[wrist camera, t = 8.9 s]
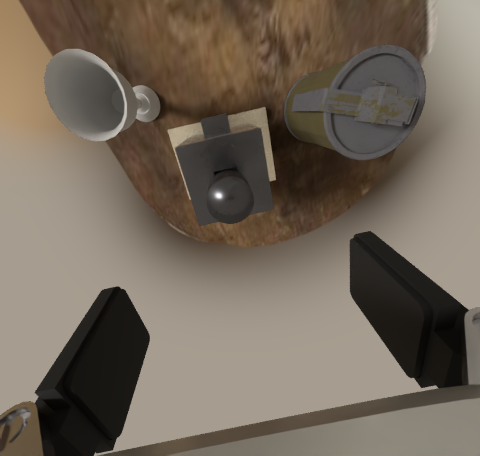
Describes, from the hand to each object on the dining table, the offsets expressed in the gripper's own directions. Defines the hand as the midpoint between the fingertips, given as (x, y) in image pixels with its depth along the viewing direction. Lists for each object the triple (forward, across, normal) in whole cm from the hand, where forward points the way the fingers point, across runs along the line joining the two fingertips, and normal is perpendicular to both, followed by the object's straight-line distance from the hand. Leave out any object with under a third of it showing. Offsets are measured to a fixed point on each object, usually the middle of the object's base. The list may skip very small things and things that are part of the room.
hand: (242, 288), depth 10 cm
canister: (+36, -16, -4) cm, 39 cm away
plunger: (+33, 0, 0) cm, 33 cm away
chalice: (+36, +11, -10) cm, 39 cm away
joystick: (+36, 0, 0) cm, 36 cm away
